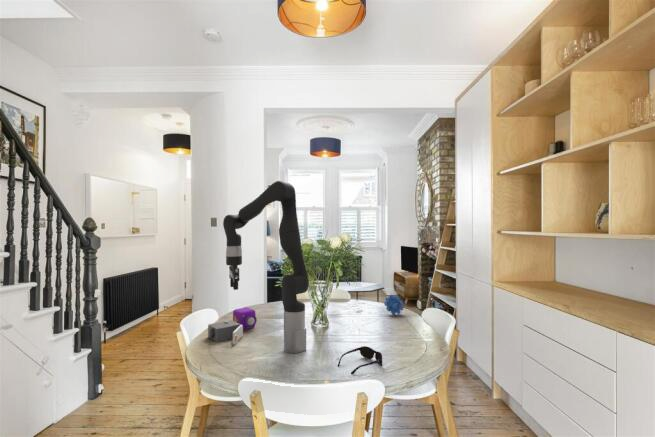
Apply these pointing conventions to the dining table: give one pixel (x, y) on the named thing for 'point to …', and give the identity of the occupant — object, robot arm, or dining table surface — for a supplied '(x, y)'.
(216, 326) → the camera case
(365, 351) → the sunglasses
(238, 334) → the side door
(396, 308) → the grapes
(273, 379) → the dining table surface
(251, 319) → the toy camera
